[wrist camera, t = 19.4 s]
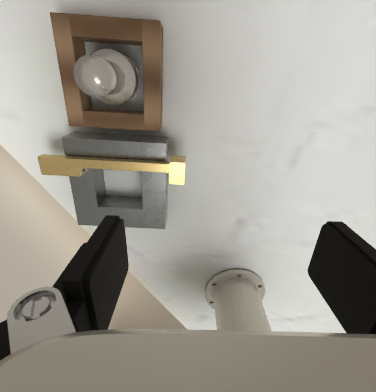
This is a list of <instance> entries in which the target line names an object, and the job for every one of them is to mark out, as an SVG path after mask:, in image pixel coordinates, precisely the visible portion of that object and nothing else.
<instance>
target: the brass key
mask: <svg viewBox="0 0 376 392" xmlns="http://www.w3.org/2000/svg"><path fill="white" fill-rule="evenodd" d="M185 159H186V156H173V155H171V158H170V162H168V161H151V160H133V159H116V158H98V157H80V156H63V155H45V154H42V155H40V156H38V161H39V165H40V169H41V173H42V175H60V176H78V177H80V176H81V175H83V174H84V172H83V168H94V169H112V170H130V171H148V172H166V173H169V184H179V185H184V179H185Z"/></svg>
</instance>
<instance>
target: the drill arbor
mask: <svg viewBox="0 0 376 392" xmlns="http://www.w3.org/2000/svg"><path fill="white" fill-rule="evenodd" d="M73 73H74V79H75V81H76V84H77V85H78V87H79V88H80V89H81V90H82V91H83V92H84V93H86V94H87V95H90V96H95V97H96V98H97V99H99V100H100V101H102V102H104V103H106V104H110V105H118V104H122V103H125V102H129V101H131V100H132V99H134V98H135V97H136V95H137V94H138V92H139V90H140V86H141V76H140V72H139V70H138V68H137V66H136V64H135V63H134V62H133V61H132V60H131V59H130V58H129V57H127V56H126V55H123V54H121V53H119V52H117V51H115V50H112V49H101V50H98V51H96V52H94V53H93V54H92V55H84V56H82V57H80V58H79V59H78V60H77V61H76V63H75V65H74V72H73Z"/></svg>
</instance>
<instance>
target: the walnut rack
mask: <svg viewBox="0 0 376 392" xmlns="http://www.w3.org/2000/svg"><path fill="white" fill-rule="evenodd" d="M50 16H51V22H52V28H53V34H54V40H55V46H56V51H57V57H58V63H59V69H60V75H61V81H62V86H63V92H64V98H65V104H66V110H67V116H68V122H69V126H81V127H97V128H113V129H130V130H146V131H160V129H161V128H162V68H163V27H162V25H161V22H160V21H157V20H144V19H130V18H117V17H104V16H91V15H78V14H65V13H52V12H50ZM84 41H86V42H100V43H114V44H128V45H141V46H142V52H143V91H144V112H143V111H127V110H111V109H95V108H92V101H91V96H90V95H87V94H86V93H84V92H83V91H82V90H81V89H80V88H79V87H78V85H77V84H76V81H75V79H74V73H73V72H74V65H75V63H76V61H77V60H78V59H79V58H80V57H82V56H84V55H86V52H85V43H84Z"/></svg>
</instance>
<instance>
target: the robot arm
mask: <svg viewBox="0 0 376 392" xmlns="http://www.w3.org/2000/svg"><path fill="white" fill-rule="evenodd" d="M127 271H128V255H127V246H126V236H125V227H124V220H123V219H120V217H119V216H116V215H106V216H105V217H104V219H103V220H102V222H101V223H100V224H99V226H98V227H97V229H96V230H95V232H94V233H93V235H92V236H91V238H90V239H89V241H88V242H87V243H84V244H83V245H82V246H81V247H80V249H79V250H78V251H77V253H76V254H75V256H74V257H73V258H72V260H71V261H70V263H69V264H68V265H67V267H66V268H65V270H64V271H63V273H62V274H61V275H60V277H59V278H58V280H57V281H56V283H55V284H54V285H53V287H42V288H38V289H35V290H32V291H30V292H28V293H26V294H24V295H23V296H21V297H20V298H19V299H17V300H16V301H15V302H14V303H13V305H11V307H10V309H9V311H8V313H7V320H5V321H3V322H1V323H0V392H376V249H374V248H373V247H372V246H371V245H370V244H368V243H367V242H366V241H365V240H364V239H362V238H361V237H360V236H359V235H358V234H356V233H355V232H354V231H353V230H352V229H350V228H349V227H348V226H347V225H346V224H344V223H343V222H331V221H329V222H327V223H326V224H324V225H323V226H322V228H321V231H320V234H319V237H318V240H317V243H316V246H315V249H314V252H313V255H312V258H311V261H310V264H309V267H308V274H309V277H310V278H311V280H312V281H313V283H314V284H315V286H316V287H317V289H318V290H319V292H320V293H321V295H322V296H323V298H324V299H325V301H326V302H327V304H328V305H329V307H330V308H331V310H332V312H333V313H334V315H335V316H336V318H337V319H338V321H339V322H340V324H341V325H342V327H343V328H344V330H345V331H346V333H314V332H273V331H271V328H270V325H269V322H268V319H267V316H266V313H265V310H264V307H263V305H262V302H261V301H262V299H263V297H264V294H265V287H264V285H263V282H262V280H261V279H260V278H259V277H258V276H257V275H256V274H254V273H252V272H250V271H247V270H240V269H235V270H228V271H224V272H222V273H219V274H218V275H216V276H214V277H213V278H212V279H211V280H210V281H209V283H208V284H207V286H206V299H207V302H208V303H209V305H210V306H211V307H212V308H214V309H215V317H216V325H217V330H172V329H170V330H169V329H113V330H112V329H111V330H107V329H108V326H109V324H110V321H111V318H112V315H113V312H114V309H115V306H116V303H117V300H118V297H119V295H120V292H121V289H122V286H123V283H124V280H125V277H126V275H127Z"/></svg>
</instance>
